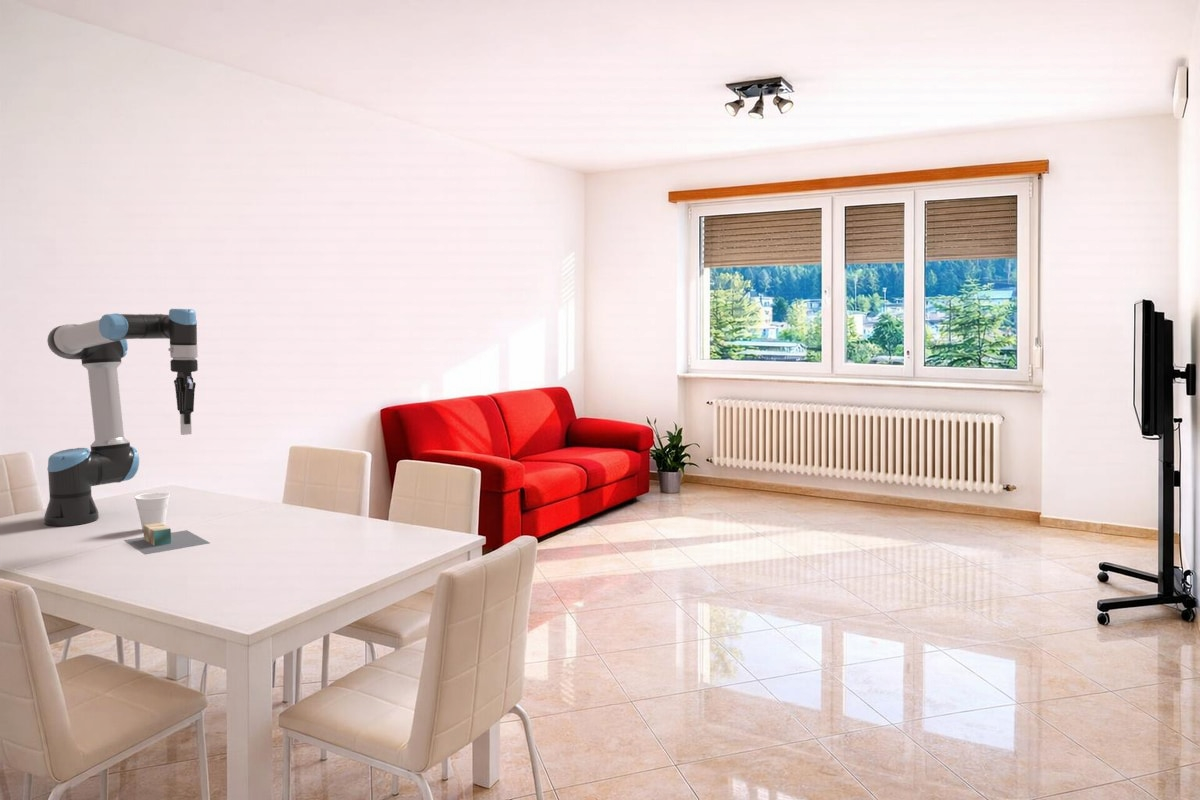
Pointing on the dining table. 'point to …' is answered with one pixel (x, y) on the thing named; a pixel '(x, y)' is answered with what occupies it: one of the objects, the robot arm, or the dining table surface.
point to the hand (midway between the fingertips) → (186, 434)
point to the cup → (152, 507)
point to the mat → (177, 542)
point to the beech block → (157, 534)
